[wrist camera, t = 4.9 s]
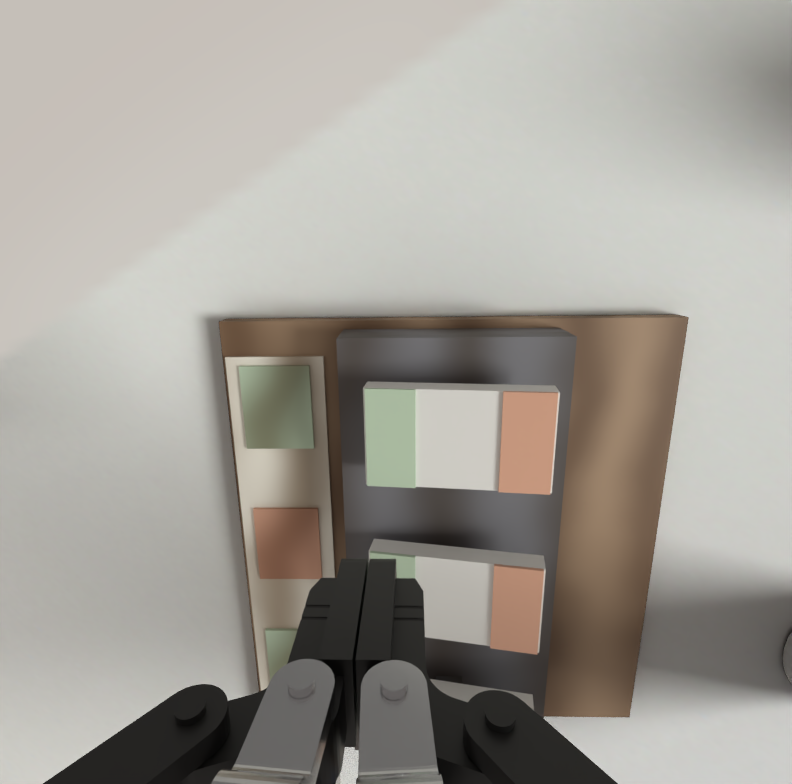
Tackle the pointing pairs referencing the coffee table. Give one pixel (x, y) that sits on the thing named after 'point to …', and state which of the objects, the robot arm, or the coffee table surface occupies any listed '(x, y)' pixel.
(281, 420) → the switch unit
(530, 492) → the switch
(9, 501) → the coffee table surface
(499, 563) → the switch
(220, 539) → the coffee table surface
